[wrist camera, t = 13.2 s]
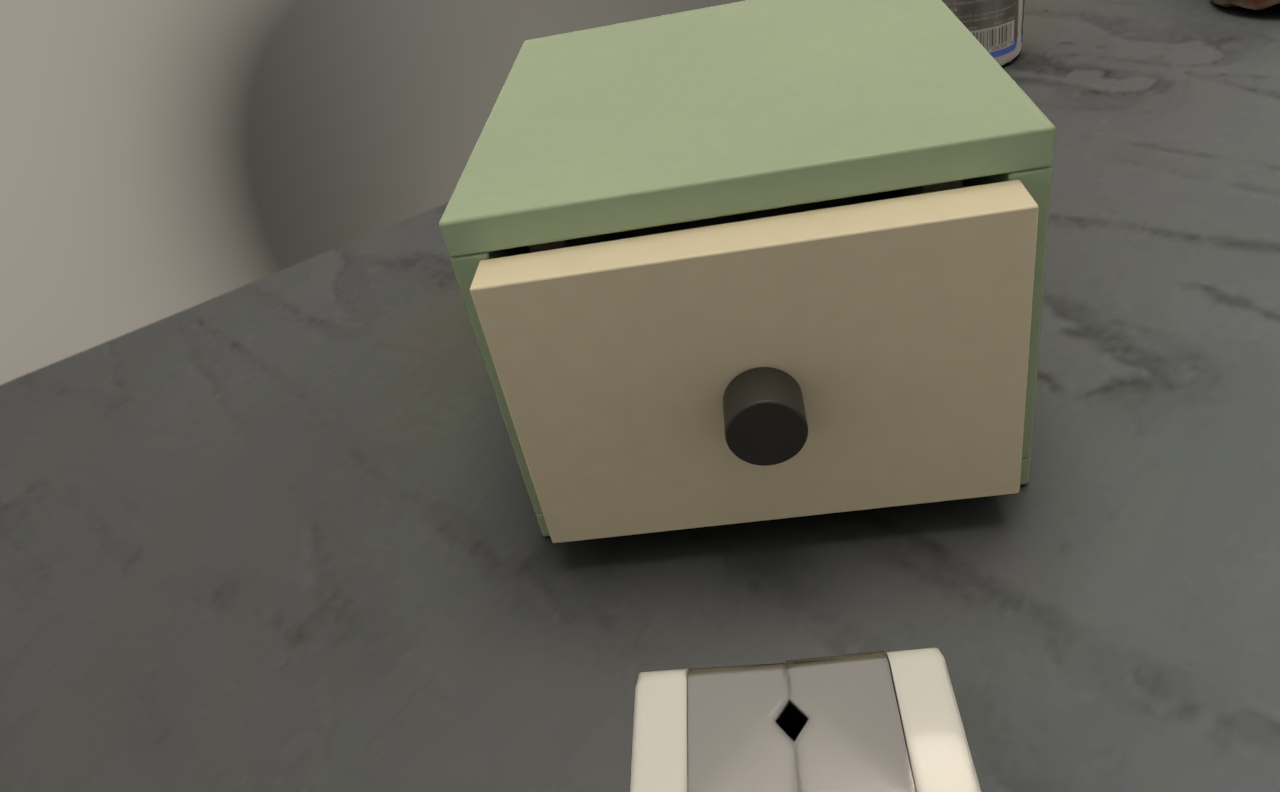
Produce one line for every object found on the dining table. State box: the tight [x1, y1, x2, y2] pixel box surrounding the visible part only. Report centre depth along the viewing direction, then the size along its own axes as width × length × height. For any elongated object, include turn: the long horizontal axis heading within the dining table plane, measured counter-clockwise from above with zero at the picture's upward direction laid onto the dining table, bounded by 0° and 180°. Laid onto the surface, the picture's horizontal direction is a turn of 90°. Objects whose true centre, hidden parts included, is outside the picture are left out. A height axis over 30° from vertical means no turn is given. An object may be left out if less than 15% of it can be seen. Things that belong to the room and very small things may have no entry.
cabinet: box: [439, 0, 1055, 536], centre depth 25 cm, size 13×12×9 cm
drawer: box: [470, 180, 1039, 543], centre depth 23 cm, size 13×10×7 cm
